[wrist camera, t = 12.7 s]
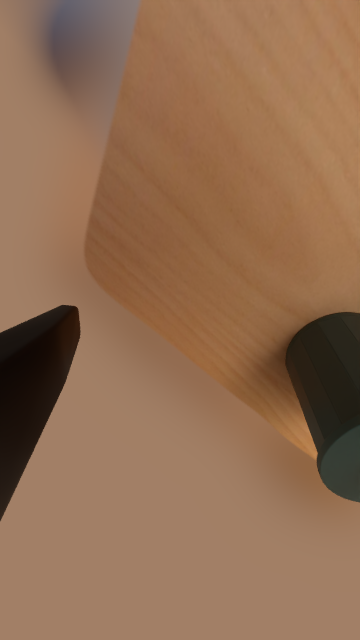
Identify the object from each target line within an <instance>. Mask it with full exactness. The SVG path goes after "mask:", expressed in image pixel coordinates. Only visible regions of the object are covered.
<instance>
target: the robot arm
mask: <svg viewBox="0 0 360 640" xmlns="http://www.w3.org/2000/svg"><path fill="white" fill-rule="evenodd" d="M79 339H80V321H79V311H78V308H77V307H76V306H69V305H61V306H59V307H57V308H54V309H52V310H50V311H48V312H46V313H43V314H41V315H39V316H37V317H34V318H32V319H30V320H28V321H25V322H23V323H21V324H19V325H17V326H15V327H13V328H10V329H8V330H5V331H3V332H1V333H0V521H1V519H2V516H3V514H4V512H5V510H6V508H7V506H8V504H9V502H10V500H11V497H12V495H13V493H14V491H15V489H16V487H17V485H18V483H19V480H20V478H21V476H22V474H23V472H24V469H25V468H26V465H27V463H28V461H29V459H30V457H31V455H32V453H33V451H34V448H35V446H36V444H37V442H38V440H39V438H40V435H41V433H42V431H43V429H44V427H45V425H46V423H47V421H48V419H49V416H50V414H51V412H52V410H53V408H54V406H55V404H56V402H57V399H58V397H59V395H60V393H61V391H62V389H63V386H64V384H65V382H66V379H67V375H68V373H69V370H70V367H71V364H72V360H73V357H74V354H75V351H76V348H77V345H78V342H79Z"/></svg>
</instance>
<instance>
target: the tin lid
mask: <svg viewBox="0 0 360 640" xmlns="http://www.w3.org/2000/svg"><path fill="white" fill-rule="evenodd" d="M317 467H318V471H319V474H320V477H321V479H322V481H323V483H324V484H325V485H326V487H327V488H328V489H330V490H331V491H332V492H333V493H335V494H337V495H338V496H340V497H343V498H345V499H348V500H352V501H356V502H360V414H359V415H357V416H355V417H353V418H351V419H349V420H348V421H346V422H344V423H343V424H342V425H340V426H339V427H337V428H336V429H335V430H334V431H333V432H332V433H331V434H330V435H329V436H328V437H327V438H326V439H325V440H324V442H323V444H322V445H321V447H320V449H319V452H318V455H317Z"/></svg>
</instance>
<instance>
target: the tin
mask: <svg viewBox="0 0 360 640" xmlns="http://www.w3.org/2000/svg"><path fill="white" fill-rule="evenodd" d="M285 360H286V367H287V370H288V373H289V376H290V378H291V381H292V384H293V387H294V389H295V392H296V395H297V397H298V400H299V403H300V406H301V408H302V411H303V414H304V416H305V419H306V422H307V425H308V427H309V430H310V433H311V435H312V438H313V441H314V444H315V446H316V449H317V452H319V449H320V447H321V445H322V444H323V442H324V440H325V439H326V438H327V437H328V436H329V435H330V434H331V433H332V432H333V431H334V430H335V429H336V428H337V427H339V426H340V425H342V424H343V423H344V422H346V421H348V420H349V419H351V418H353V417H355V416H357V415H359V414H360V314H359V313H349V312H346V313H336V314H331V315H328V316H324V317H322V318H319V319H317V320H315V321H313V322H311V323H310V324H308V325H307V326H305V327H304V328H303V329H302V330H300V331H299V332H298V333H297V334H296V336H295V337H294V338H293V339H292V341H291V343H290V344H289V347H288V349H287V352H286V359H285Z"/></svg>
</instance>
